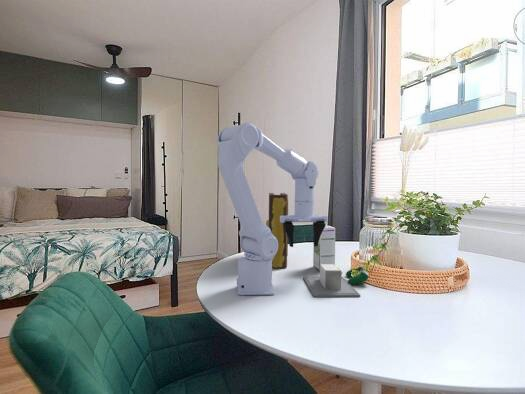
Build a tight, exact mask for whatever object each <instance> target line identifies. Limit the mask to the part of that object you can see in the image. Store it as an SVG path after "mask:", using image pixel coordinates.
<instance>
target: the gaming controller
mask: <svg viewBox="0 0 525 394" xmlns="http://www.w3.org/2000/svg"><path fill="white" fill-rule="evenodd" d="M365 269H366V268H365ZM365 269H363V265H362V264H360V266H359V267H357V268H353V269H349V270H347V272H346V273H345V276H346V277H347V278H349V279H348V280H347V282H348V283H349V284H350V285H351V286H354V285H359V284H363V283H364V282H367V281H368V279H369V277H370V274H369V271H368V270H367V269H366V270H367V271H366V270H365ZM352 270H358V271H359V274H358V275H356V276H354V277H352V276H351V272H352Z"/></svg>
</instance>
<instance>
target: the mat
mask: <svg viewBox="0 0 525 394" xmlns="http://www.w3.org/2000/svg"><path fill="white" fill-rule="evenodd" d="M302 278H303V280H304V282H305V284H306V286H307V287H308V289H309V292H310V293H311V294H312V297H313V298H352V297H353V298H360V297H361V294H360V293H359V292H358V291H357V290H356V289H355V288H354V287H353V285H350V284H349V283H348V280H346V279H345V278H344V277H343V276H341V290H326V289H325V288H324V286H323V285H322V284H321V282H320V276H302Z"/></svg>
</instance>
